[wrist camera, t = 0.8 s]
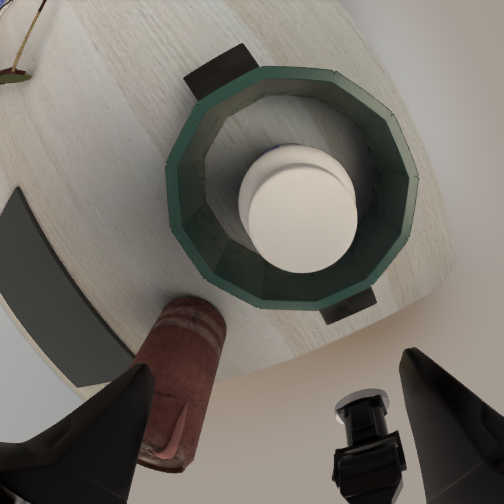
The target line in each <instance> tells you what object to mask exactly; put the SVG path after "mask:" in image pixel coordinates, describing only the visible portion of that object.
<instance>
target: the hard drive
mask: <svg viewBox="0 0 504 504" xmlns="http://www.w3.org/2000/svg"><path fill="white" fill-rule="evenodd" d="M8 1H9V0H0V8H1V7H2V6H3V5H4V4H5V3H6V2H8ZM11 2H12V1H11ZM11 2H9V3H8V4H6V5H5V6H4V7H3V8H2V9H1V10H0V18H1V16H2V15H3V13H4V12H5V11H6V9H7V8H8V7H9V5H10V4H11Z"/></svg>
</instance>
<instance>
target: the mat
mask: <svg viewBox="0 0 504 504" xmlns="http://www.w3.org/2000/svg"><path fill="white" fill-rule="evenodd" d="M0 293H1V294H2V296H3V298H4V299H5V301H6V302H7V304H8V305H9V307H10V308H11V310H12V311H13V313H14V314H15V316H16V317H17V318H18V320H19V321H20V323H21V324H22V325H23V327H24V328H25V329H26V331H27V332H28V333H29V335H30V336H31V337H32V338H33V340H34V341H35V342H36V343H37V345H38V346H39V347H40V348H41V349H42V351H43V352H44V353H45V354H46V355H47V356H48V358H49V359H50V360H51V361H52V362H53V363H54V364H55V365H56V366H57V368H58V369H59V370H60V371H61V372H62V373H63V374H64V375H65V376H66V377H67V378H68V379H69V380H70V381H71V382H72V383H73V384H74V385H75V386H76V387H77V388H78V387H84V386H90V385H96V384H101V383H106V382H111V381H114V380H115V379H116V378H117V377H119V376H120V375H121V374H123V373H124V372H125V371H127V370H128V369H129V367H130V365H131V364H132V362H133V360H134V358H135V356H134V354H133V353H132V352H131V351H130V350H129V349H128V348H127V347H126V346H125V345H124V344H123V342H122V341H121V340H120V339H119V338H118V337H117V336H116V335H115V333H114V332H113V331H112V330H111V329H110V328H109V326H108V325H107V324H106V323H105V322H104V320H103V319H102V318H101V317H100V315H99V314H98V313H97V312H96V310H95V309H94V308H93V307H92V305H91V304H90V303H89V301H88V300H87V299H86V297H85V296H84V295H83V293H82V292H81V291H80V289H79V288H78V287H77V285H76V284H75V282H74V281H73V280H72V278H71V277H70V275H69V274H68V272H67V271H66V269H65V268H64V266H63V265H62V263H61V262H60V260H59V259H58V257H57V255H56V254H55V252H54V251H53V249H52V247H51V246H50V244H49V242H48V241H47V239H46V237H45V236H44V234H43V232H42V230H41V229H40V227H39V225H38V223H37V221H36V220H35V218H34V216H33V214H32V212H31V210H30V208H29V206H28V204H27V202H26V200H25V198H24V196H23V194H22V192H21V190H20V187H16V188H15V190H14V191H13V193H12V195H11V197H10V199H9V200H8V202H7V204H6V206H5V208H4V210H3V212H2V214H1V216H0Z"/></svg>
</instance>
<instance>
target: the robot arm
mask: <svg viewBox="0 0 504 504" xmlns="http://www.w3.org/2000/svg"><path fill="white" fill-rule="evenodd" d="M399 373H400V377H401V383H402V388H403V394H404V400H405V406H406V410H407V414H408V417H409V421H410V425H411V429H412V433H413V437H414V441H415V445H416V449H417V454H418V458H419V463H420V467H421V473H422V478H423V483H424V489H425V495H426V501H427V504H504V417H503V416H502V415H500V414H499V413H498V412H496V411H495V410H494V409H492V408H491V407H490V406H489V405H487V404H486V403H485V402H484V401H482V400H481V399H480V398H479V397H478V396H477V395H475V394H474V393H473V392H472V391H470V390H469V389H468V388H467V387H465V386H464V385H463V384H462V383H461V382H459V381H458V380H457V379H456V378H454V377H453V376H452V375H450V374H449V373H448V372H447V371H445V370H444V369H443V368H442V367H440V366H439V365H438V364H437V363H435V362H434V361H433V360H432V359H430V358H429V357H428V356H426V355H425V354H424V353H422V352H421V351H420V350H419V349H417V348H415V347H412V348H408V349H405V350H404V352H403V355H402V358H401V361H400V365H399ZM155 385H156V379H155V376H154V375H153V373H152V371H151V369H150V367H149V366H148V365H147V364H146V363H136V364H134V365H133V366H132V367H130V368H129V369H128V370H127V371H125V372H124V373H123V374H121V375H120V376H119V377H117V378H116V379H115V380H114V381H112V382H111V383H110V384H108V385H107V386H106V387H104V388H103V389H102V390H101V391H99V392H98V393H97V394H95V395H94V396H93V397H91V398H90V399H89V400H87V401H86V402H85V403H83V404H82V405H81V406H79V407H78V408H77V409H76V410H74V411H73V412H72V413H70V414H69V415H67V416H66V417H65V418H63V419H62V420H61V421H59V422H58V423H56V424H55V425H53V426H52V427H50V428H48V429H47V430H45V431H43V432H42V433H40V434H38V435H37V436H35V437H33V438H32V439H30V440H28V441H26V442H23V443H5V442H0V504H127V500H128V496H129V491H130V487H131V483H132V479H133V475H134V471H135V467H136V464H137V460H138V456H139V452H140V449H141V445H142V441H143V438H144V434H145V431H146V427H147V424H148V420H149V417H150V412H151V406H152V401H153V395H154V390H155ZM336 411H337V414H338V416H339V417H340V418H341V420H342V421H343V423H344V424H345V429H346V437H347V445H348V447H346V448H342V449H336V450H335V454H334V469H333V474H332V481H334V482H335V483H336V485H337V487H338V489H340V493H341V495H342V496H343V497H344V498H345V499H346V500H347V502H348V503H349V504H395V502H396V500H397V498H398V496H399V494H400V492H401V490H402V488H403V480H402V474H401V472H402V471H405V470H407V468H406V462H405V457H404V452H403V448H402V444H401V440H400V437H399V433H398V431H395V432H393V433H390V434H388V430H387V425H386V421H385V417H384V416H385V415H386V414H387V411H386V408H385V405H384V402H383V400H382V397H381V395H380V394H378V395H375V396H373V397H370V398H367V399H365V400H362V401H359V402H357V403H354V404H351V405H348V406H345V407H342V408H339V409H337V410H336ZM396 446H397V447H396Z"/></svg>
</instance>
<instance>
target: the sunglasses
mask: <svg viewBox="0 0 504 504" xmlns="http://www.w3.org/2000/svg"><path fill="white" fill-rule="evenodd" d="M11 1H12V0H9V1H8V2H6V3H5V4H4V5H3V6H2V7H1V8H0V10H1V9H2V8H3V7H4V6H5V5H6V4H8V3H9V2H11ZM46 1H47V0H43V2H42V4H41V6H40V8H39V10H38V12H37V14H36V16H35V19H34V21H33V23H32V25H31V27H30V29H29V31H28V33H27V35H26V37H25V39H24V41H23V44H22V46H21V48H20V50H19V52H18V54H17V56H16V59H15V62H14V64H13V67H11V68H8V69H5V70H2V71H0V84H5V83H17V82H23V81H26V80H29V79H30V78H31V76H30V75H27V74H25V72H26V71H22V70H17V69H16V66H17V63H18V61H19V58H20V56H21V54H22V50H23V48H24V45H25V43H26V41H27V39H28V37H29V34H30V32H31V30H32V28H33V26H34V24H35V22H36V20H37V18H38V16H39V14H40V12H41V10H42V8H43V6H44V4H45V2H46Z"/></svg>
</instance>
